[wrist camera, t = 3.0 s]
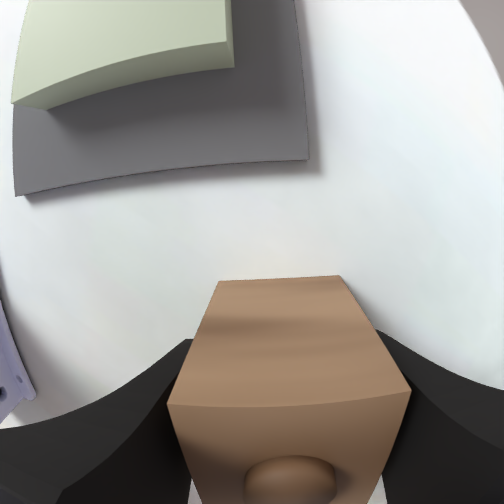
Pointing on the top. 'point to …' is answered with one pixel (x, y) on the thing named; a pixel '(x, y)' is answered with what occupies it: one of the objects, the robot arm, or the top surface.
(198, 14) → the base block
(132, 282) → the top surface
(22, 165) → the build mat
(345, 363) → the walnut snap block
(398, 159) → the top surface
